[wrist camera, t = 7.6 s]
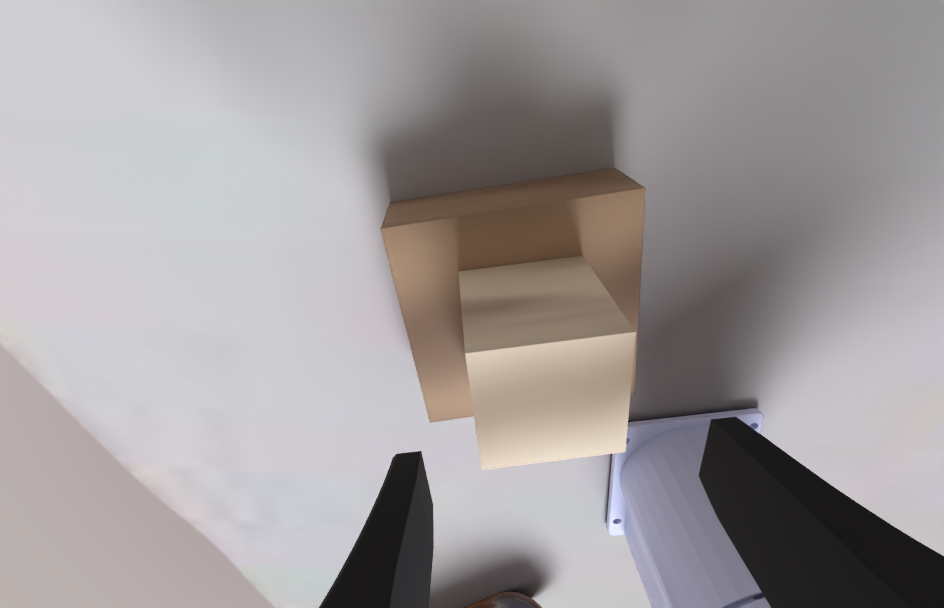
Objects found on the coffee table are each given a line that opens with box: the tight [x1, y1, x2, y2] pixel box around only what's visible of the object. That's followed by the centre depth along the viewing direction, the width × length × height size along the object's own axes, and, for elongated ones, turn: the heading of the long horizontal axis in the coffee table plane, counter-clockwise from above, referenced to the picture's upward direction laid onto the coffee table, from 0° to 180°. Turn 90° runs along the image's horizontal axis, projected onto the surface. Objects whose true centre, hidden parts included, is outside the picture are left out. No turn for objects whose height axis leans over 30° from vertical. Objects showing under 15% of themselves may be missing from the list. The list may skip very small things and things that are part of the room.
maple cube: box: [458, 256, 636, 470], centre depth 15 cm, size 4×4×5 cm
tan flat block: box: [381, 168, 645, 422], centre depth 19 cm, size 9×9×4 cm
